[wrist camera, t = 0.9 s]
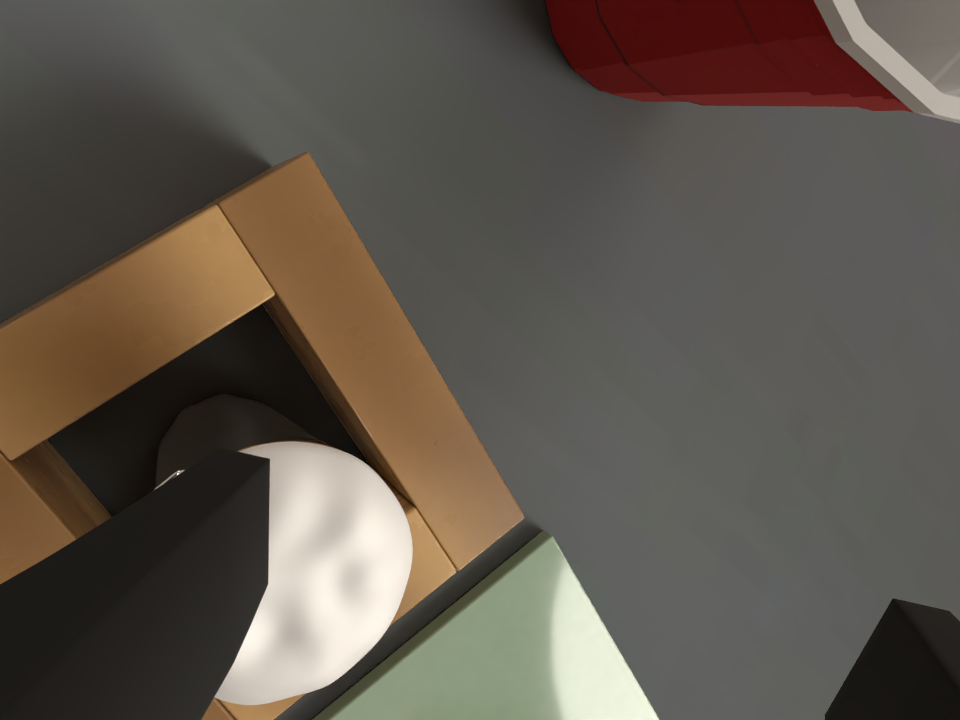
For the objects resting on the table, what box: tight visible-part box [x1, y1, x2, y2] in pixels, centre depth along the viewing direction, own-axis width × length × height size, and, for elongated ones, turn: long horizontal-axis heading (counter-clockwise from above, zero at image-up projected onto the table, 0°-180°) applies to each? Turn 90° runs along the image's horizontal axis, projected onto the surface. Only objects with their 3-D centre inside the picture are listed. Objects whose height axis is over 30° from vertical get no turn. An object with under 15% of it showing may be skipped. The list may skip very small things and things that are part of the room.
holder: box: [0, 152, 525, 720], centre depth 19 cm, size 10×10×4 cm
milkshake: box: [153, 394, 413, 705], centre depth 16 cm, size 4×5×10 cm
